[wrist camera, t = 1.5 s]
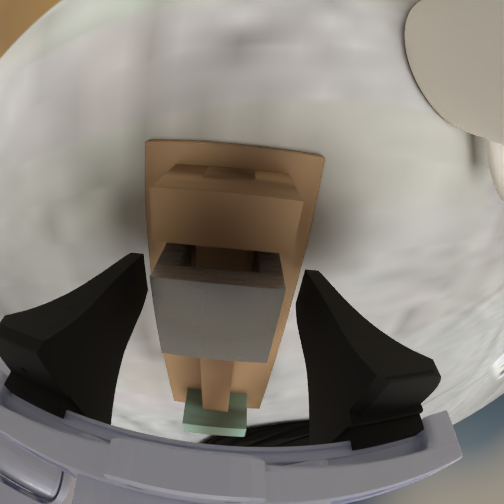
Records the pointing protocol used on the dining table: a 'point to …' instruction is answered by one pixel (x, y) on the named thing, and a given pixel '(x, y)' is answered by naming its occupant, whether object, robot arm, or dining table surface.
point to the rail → (228, 250)
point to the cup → (462, 68)
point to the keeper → (216, 306)
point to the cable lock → (268, 436)
